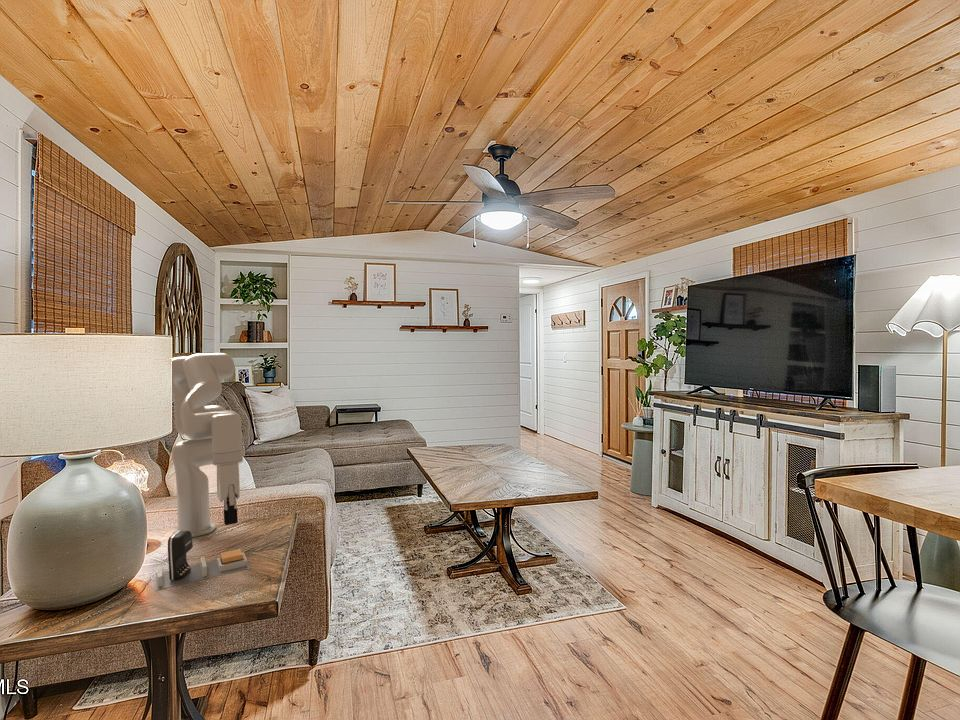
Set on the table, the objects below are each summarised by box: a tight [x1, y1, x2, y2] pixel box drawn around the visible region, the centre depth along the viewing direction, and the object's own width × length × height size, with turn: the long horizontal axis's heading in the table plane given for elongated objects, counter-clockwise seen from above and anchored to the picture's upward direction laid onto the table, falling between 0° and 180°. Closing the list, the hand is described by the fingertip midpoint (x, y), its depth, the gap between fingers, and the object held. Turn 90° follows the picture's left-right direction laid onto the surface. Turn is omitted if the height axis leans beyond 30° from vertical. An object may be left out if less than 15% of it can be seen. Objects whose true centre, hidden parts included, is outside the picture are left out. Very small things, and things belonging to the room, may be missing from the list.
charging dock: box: [155, 551, 252, 591], centre depth 139 cm, size 12×22×4 cm, turn 122°
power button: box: [220, 548, 243, 563], centre depth 142 cm, size 5×5×1 cm
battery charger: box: [167, 531, 194, 580], centre depth 136 cm, size 7×4×11 cm, turn 8°
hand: (231, 523), depth 142 cm, fingers closed
